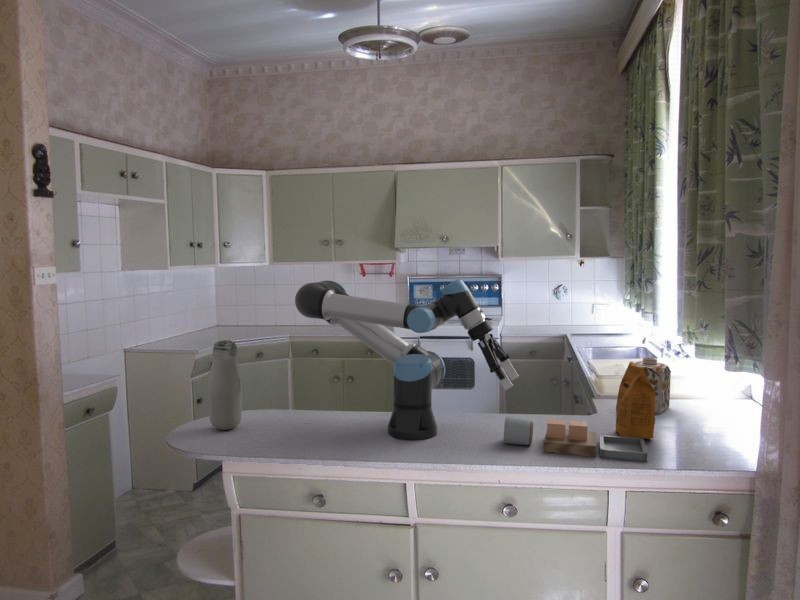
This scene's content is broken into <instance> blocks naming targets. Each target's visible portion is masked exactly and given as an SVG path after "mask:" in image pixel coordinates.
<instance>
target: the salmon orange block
mask: <svg viewBox="0 0 800 600" xmlns="http://www.w3.org/2000/svg"><path fill="white" fill-rule="evenodd" d="M568 422H569V423H568V430H569V439H574V440H586V441H587V431H588V421H581V420H580V421H578V420H569V421H568Z"/></svg>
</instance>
